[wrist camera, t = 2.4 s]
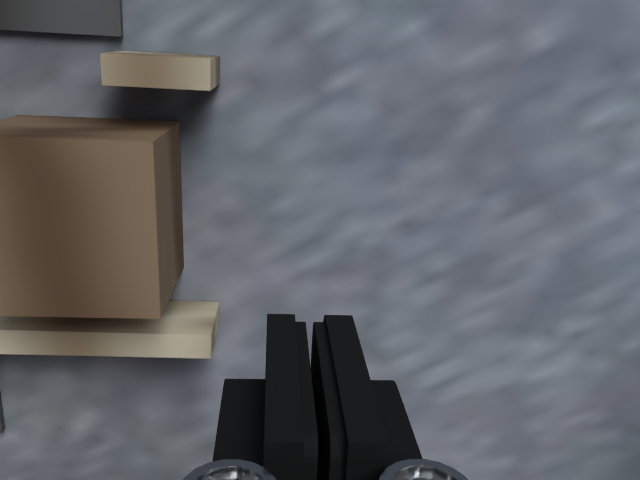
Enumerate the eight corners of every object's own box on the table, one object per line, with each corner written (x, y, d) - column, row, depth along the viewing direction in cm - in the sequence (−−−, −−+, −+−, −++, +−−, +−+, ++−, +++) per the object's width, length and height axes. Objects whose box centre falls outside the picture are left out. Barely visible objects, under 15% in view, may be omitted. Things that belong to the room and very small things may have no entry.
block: (180, 120, 23) (152, 142, 19) (184, 265, 25) (160, 318, 20) (20, 114, 23) (-50, 134, 18) (36, 262, 25) (-23, 315, 20)
